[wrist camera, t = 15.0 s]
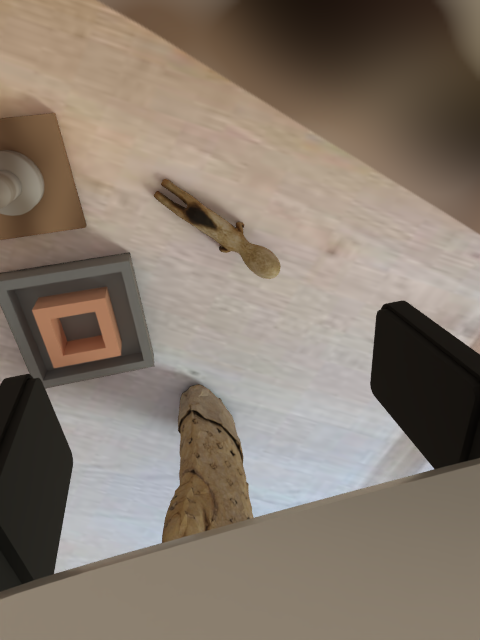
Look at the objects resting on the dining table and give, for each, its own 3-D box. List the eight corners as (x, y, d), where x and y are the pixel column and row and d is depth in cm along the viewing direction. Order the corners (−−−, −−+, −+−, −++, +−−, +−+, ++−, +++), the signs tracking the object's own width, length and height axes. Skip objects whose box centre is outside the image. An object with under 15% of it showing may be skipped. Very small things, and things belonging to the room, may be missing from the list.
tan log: (254, 393, 55) (357, 645, 29) (224, 448, 59) (292, 716, 33) (159, 370, 50) (184, 652, 24) (133, 432, 53) (129, 735, 28)
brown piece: (-21, 240, 38) (-50, 265, 32) (-69, 125, 34) (-114, 129, 28) (86, 225, 40) (77, 245, 34) (55, 112, 35) (38, 114, 29)
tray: (41, 376, 47) (36, 389, 44) (-1, 273, 40) (-9, 282, 38) (153, 354, 49) (154, 366, 46) (129, 252, 42) (129, 260, 40)
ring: (38, 297, 42) (31, 310, 39) (107, 286, 43) (105, 298, 40) (58, 353, 45) (54, 368, 42) (121, 341, 46) (121, 355, 44)
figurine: (153, 201, 42) (265, 280, 46) (145, 203, 38) (270, 290, 42) (172, 170, 41) (285, 253, 45) (166, 170, 37) (292, 262, 41)
